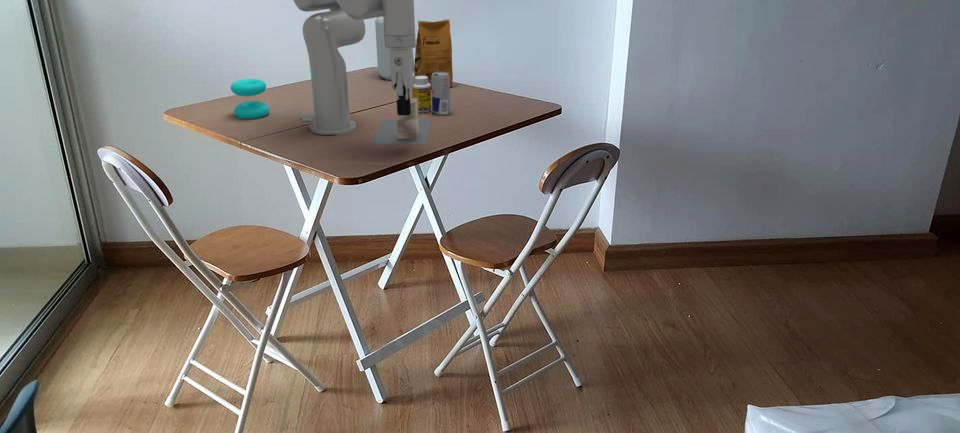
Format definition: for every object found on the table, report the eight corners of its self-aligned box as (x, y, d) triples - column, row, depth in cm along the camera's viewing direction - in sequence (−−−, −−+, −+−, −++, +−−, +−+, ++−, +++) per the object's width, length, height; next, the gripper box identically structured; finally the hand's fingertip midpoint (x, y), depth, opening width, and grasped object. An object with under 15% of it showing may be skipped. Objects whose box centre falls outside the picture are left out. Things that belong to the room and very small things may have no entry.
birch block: (398, 139, 196) (396, 103, 192) (400, 133, 200) (398, 98, 196) (416, 139, 195) (415, 103, 191) (418, 134, 200) (417, 98, 196)
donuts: (267, 77, 220) (263, 85, 211) (271, 109, 224) (267, 119, 215) (232, 78, 218) (227, 86, 209) (237, 111, 222) (232, 120, 213)
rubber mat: (371, 145, 193) (371, 143, 193) (384, 120, 213) (383, 119, 213) (425, 145, 192) (424, 144, 192) (432, 121, 212) (432, 119, 212)
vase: (397, 83, 254) (393, 17, 245) (371, 78, 260) (367, 14, 251) (417, 76, 263) (415, 12, 254) (392, 72, 269) (389, 9, 259)
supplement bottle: (418, 114, 219) (417, 80, 215) (409, 109, 223) (408, 76, 219) (434, 111, 222) (433, 77, 218) (425, 107, 226) (424, 74, 222)
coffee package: (413, 83, 253) (410, 18, 244) (448, 81, 256) (447, 16, 247) (418, 90, 244) (415, 23, 235) (454, 88, 247) (453, 21, 238)
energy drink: (433, 110, 222) (432, 71, 217) (450, 111, 222) (450, 71, 217) (431, 116, 217) (430, 75, 212) (449, 116, 217) (448, 75, 212)
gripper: (412, 46, 172) (415, 122, 179) (418, 35, 186) (421, 106, 193) (380, 47, 172) (385, 122, 180) (389, 35, 186) (393, 106, 193)
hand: (404, 114), depth 186 cm, fingers closed
